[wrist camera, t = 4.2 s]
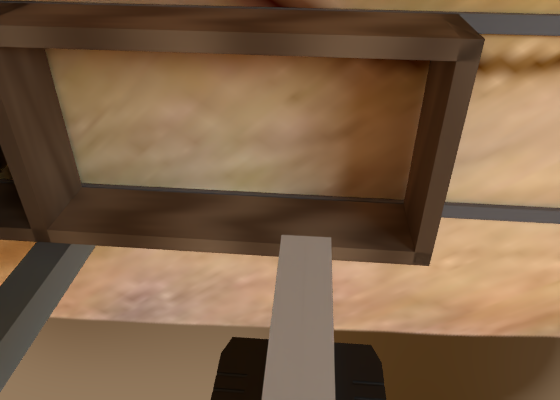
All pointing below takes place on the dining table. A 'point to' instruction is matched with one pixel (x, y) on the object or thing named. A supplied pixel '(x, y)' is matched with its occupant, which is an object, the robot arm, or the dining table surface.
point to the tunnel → (70, 257)
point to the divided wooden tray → (214, 207)
